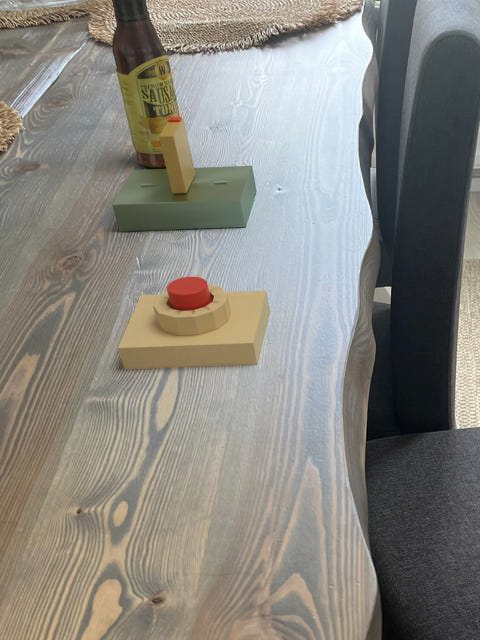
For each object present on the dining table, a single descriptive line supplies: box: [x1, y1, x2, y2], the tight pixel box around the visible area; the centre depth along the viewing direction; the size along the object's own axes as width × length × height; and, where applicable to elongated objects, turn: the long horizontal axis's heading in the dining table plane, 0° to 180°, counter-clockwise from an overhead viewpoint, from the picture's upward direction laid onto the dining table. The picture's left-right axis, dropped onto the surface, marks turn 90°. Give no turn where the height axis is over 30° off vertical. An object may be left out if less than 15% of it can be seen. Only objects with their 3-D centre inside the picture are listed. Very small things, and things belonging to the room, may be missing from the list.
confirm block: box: [117, 283, 271, 370], centre depth 93 cm, size 12×10×4 cm
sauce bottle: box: [111, 0, 181, 169], centre depth 119 cm, size 6×6×20 cm
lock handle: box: [159, 116, 195, 194], centre depth 111 cm, size 6×2×6 cm, turn 1°
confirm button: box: [166, 276, 211, 311], centre depth 91 cm, size 4×4×2 cm
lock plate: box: [111, 165, 257, 233], centre depth 114 cm, size 14×10×3 cm
